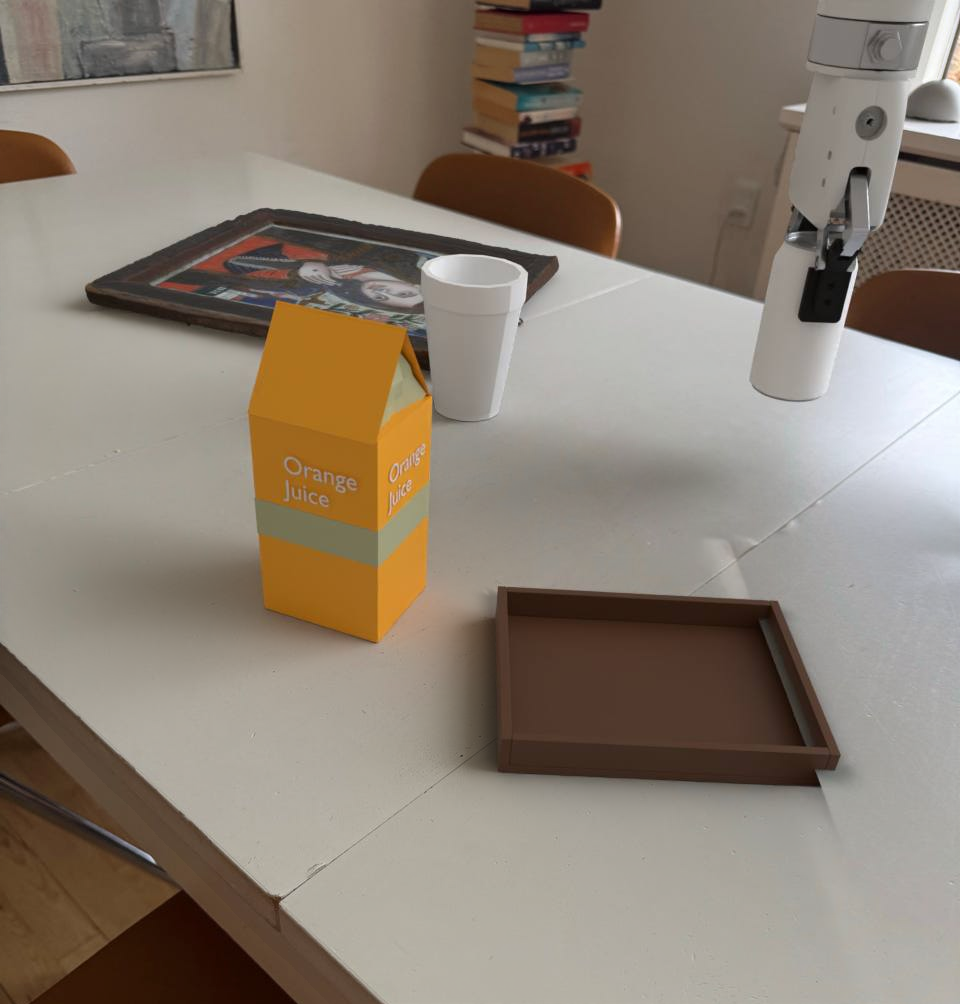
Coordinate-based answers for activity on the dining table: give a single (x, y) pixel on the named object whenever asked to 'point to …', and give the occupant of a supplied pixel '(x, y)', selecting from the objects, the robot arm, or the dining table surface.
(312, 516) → the orange juice
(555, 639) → the serving tray
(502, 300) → the foam cup
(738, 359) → the dining table surface
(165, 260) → the framed picture
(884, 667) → the dining table surface
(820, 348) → the can
